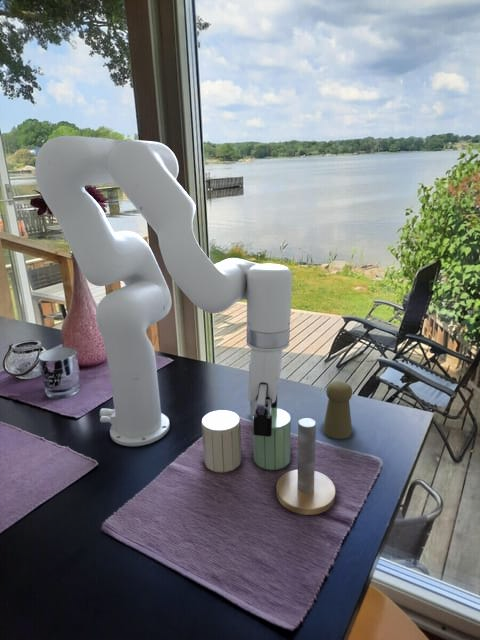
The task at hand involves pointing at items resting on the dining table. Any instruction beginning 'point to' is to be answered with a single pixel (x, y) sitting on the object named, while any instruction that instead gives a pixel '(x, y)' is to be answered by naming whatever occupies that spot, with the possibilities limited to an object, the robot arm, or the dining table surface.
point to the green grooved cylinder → (274, 443)
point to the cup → (221, 440)
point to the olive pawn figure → (338, 410)
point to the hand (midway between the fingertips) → (265, 420)
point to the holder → (306, 478)
